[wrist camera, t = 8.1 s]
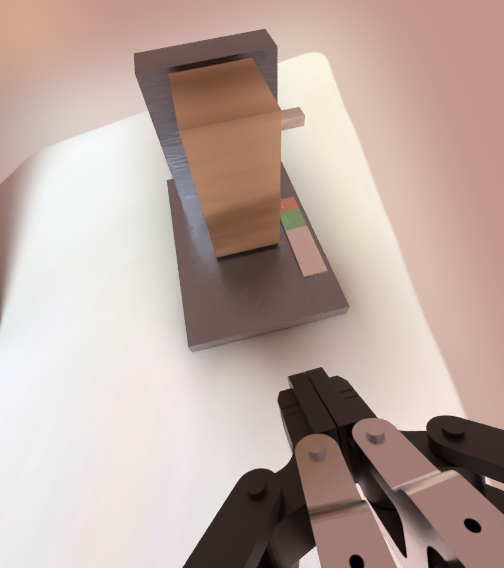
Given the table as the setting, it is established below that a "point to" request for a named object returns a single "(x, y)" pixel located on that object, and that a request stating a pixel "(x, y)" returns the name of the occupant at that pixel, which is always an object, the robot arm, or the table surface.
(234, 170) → the block
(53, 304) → the table surface
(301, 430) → the robot arm
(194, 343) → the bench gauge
